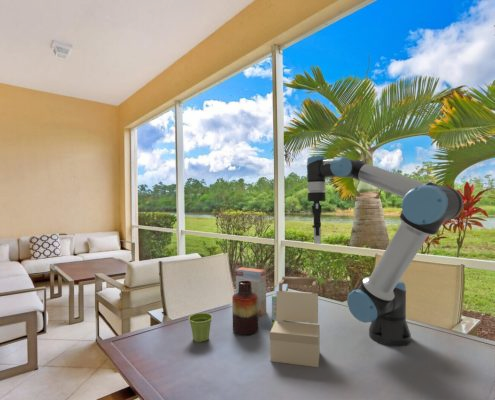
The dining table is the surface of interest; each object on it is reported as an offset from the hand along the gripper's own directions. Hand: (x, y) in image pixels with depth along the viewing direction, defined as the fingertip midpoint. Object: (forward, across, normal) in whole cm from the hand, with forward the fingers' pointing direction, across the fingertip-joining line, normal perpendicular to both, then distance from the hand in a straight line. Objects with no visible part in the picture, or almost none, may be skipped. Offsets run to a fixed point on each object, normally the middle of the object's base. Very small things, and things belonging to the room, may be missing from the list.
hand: (317, 241), depth 137 cm
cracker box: (+36, -12, -32) cm, 50 cm away
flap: (+19, +23, -8) cm, 31 cm away
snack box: (+37, -1, -16) cm, 40 cm away
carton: (+37, +28, -8) cm, 47 cm away
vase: (+37, +9, -30) cm, 48 cm away
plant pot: (+37, +20, -46) cm, 62 cm away
